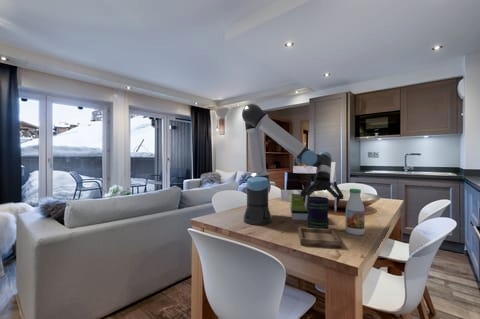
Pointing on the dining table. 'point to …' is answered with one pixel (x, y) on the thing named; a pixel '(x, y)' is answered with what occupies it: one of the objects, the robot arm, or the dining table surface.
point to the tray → (319, 237)
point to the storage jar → (317, 212)
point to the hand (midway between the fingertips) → (320, 208)
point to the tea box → (297, 206)
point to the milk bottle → (355, 213)
